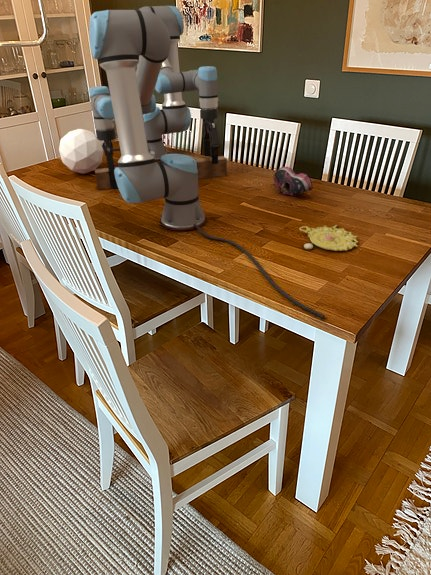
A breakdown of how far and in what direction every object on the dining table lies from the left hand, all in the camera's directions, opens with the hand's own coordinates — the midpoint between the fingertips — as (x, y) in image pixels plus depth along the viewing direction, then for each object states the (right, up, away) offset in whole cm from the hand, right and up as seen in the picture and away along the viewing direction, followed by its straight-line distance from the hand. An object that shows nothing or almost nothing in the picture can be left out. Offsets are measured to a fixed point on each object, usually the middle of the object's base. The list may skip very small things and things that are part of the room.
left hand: (211, 159), depth 194 cm
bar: (-21, -9, 0) cm, 23 cm away
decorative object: (+38, -41, -53) cm, 77 cm away
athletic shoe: (+31, -18, -17) cm, 39 cm away
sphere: (-59, -2, +13) cm, 61 cm away
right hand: (-42, -12, -5) cm, 44 cm away
